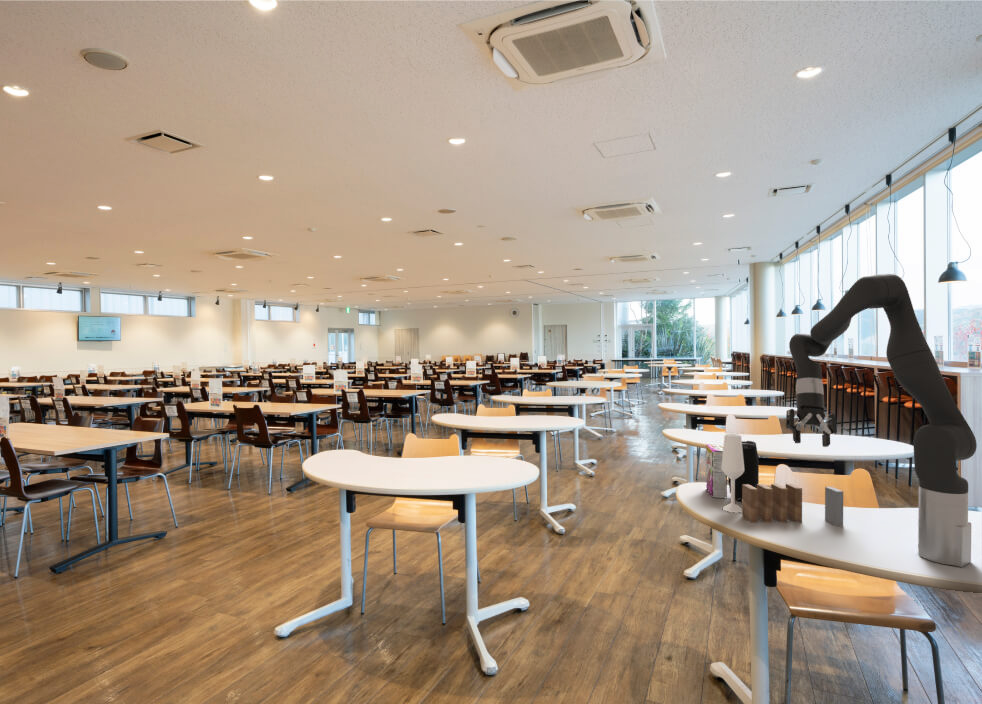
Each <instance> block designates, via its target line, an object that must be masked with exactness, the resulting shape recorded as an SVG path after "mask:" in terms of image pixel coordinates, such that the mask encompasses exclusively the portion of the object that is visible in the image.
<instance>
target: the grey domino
mask: <svg viewBox="0 0 982 704" xmlns="http://www.w3.org/2000/svg"><path fill="white" fill-rule="evenodd" d="M824 487H825V488H824V521H826V522H828V523H830V524H832V525H834V526H837V527H838V526H839V527H841V526H844V490H841V489H838V488H836V487H833V486H824Z"/></svg>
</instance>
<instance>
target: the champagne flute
mask: <svg viewBox="0 0 982 704" xmlns="http://www.w3.org/2000/svg"><path fill="white" fill-rule="evenodd" d="M723 439H724V440H723V446H722V448H723V456H722V466H721V469H722V471H723V472H724V474H725V475H726V476H727V479H728V478H730V479H731V493H730V503H728V504H726V505H723V506H724V507H723V506H722V507H723V509H724V510H726V511H725V512H727V511H729V512H728V513H732V512H735V513H736V514H739V513H738V512H741V513H742V507H740V506H739V505H738V504H736V502H735V479H737V478H738V477H740V476H741V475H742V474H743V472H744V460H743V450H742V435H741V434H739V433H725V434H724V438H723ZM724 510H723V511H724Z"/></svg>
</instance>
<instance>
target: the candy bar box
mask: <svg viewBox="0 0 982 704" xmlns="http://www.w3.org/2000/svg"><path fill="white" fill-rule="evenodd" d="M722 456H723V446H722V445H720V444H705V466H706V469H705V473H706V475H705V479H706V480H705V482H706V483H707V484H706V488H707V489H708V490H709V491H708V490H707V489H706V490H707V491H708V493H709V492H710V493H711V494H710V493H709V494H710V495H712V496H713V497H726V498H725V499H728V488H727V487H728V485H727V484H728V482H727V481H728V477H727V476H726V475H725V474H724V472H723V471H722V469H721V466H722ZM712 496H711V497H712ZM713 497H712V498H713Z"/></svg>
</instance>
